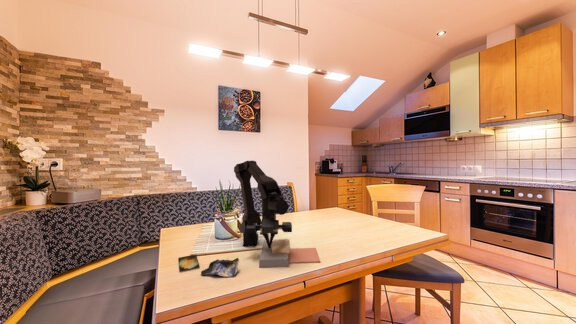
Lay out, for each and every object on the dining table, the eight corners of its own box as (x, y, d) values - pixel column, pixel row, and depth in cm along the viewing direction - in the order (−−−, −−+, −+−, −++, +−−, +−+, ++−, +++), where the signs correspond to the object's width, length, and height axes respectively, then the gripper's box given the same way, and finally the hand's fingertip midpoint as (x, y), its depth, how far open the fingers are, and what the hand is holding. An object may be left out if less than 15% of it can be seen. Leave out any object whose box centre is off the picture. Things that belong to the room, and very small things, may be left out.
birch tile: (272, 253, 94) (272, 247, 94) (273, 245, 103) (273, 239, 103) (289, 252, 94) (289, 246, 94) (289, 244, 103) (289, 239, 103)
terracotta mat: (289, 263, 92) (289, 262, 92) (288, 249, 106) (288, 248, 106) (320, 262, 92) (320, 261, 92) (315, 248, 106) (315, 247, 106)
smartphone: (196, 254, 103) (200, 267, 89) (196, 255, 103) (200, 269, 89) (178, 257, 99) (179, 272, 86) (178, 259, 99) (179, 274, 86)
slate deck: (259, 267, 89) (259, 259, 89) (264, 247, 109) (264, 241, 109) (288, 266, 89) (288, 258, 89) (288, 247, 109) (288, 240, 109)
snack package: (209, 286, 77) (243, 274, 84) (207, 265, 77) (241, 255, 85) (198, 278, 86) (229, 268, 94) (196, 260, 87) (227, 250, 94)
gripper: (242, 215, 90) (243, 256, 90) (291, 214, 90) (292, 255, 90) (247, 209, 101) (248, 245, 102) (291, 208, 101) (292, 244, 102)
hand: (269, 248), depth 99 cm, fingers closed
